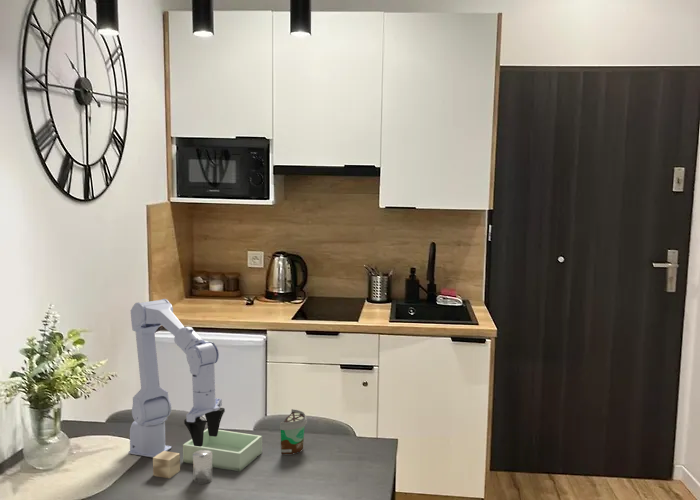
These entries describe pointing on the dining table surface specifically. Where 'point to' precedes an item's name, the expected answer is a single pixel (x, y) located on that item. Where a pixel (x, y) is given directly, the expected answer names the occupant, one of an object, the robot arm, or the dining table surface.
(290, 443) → the food container
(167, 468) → the cube
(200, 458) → the cylinder
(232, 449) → the tote
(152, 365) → the robot arm
